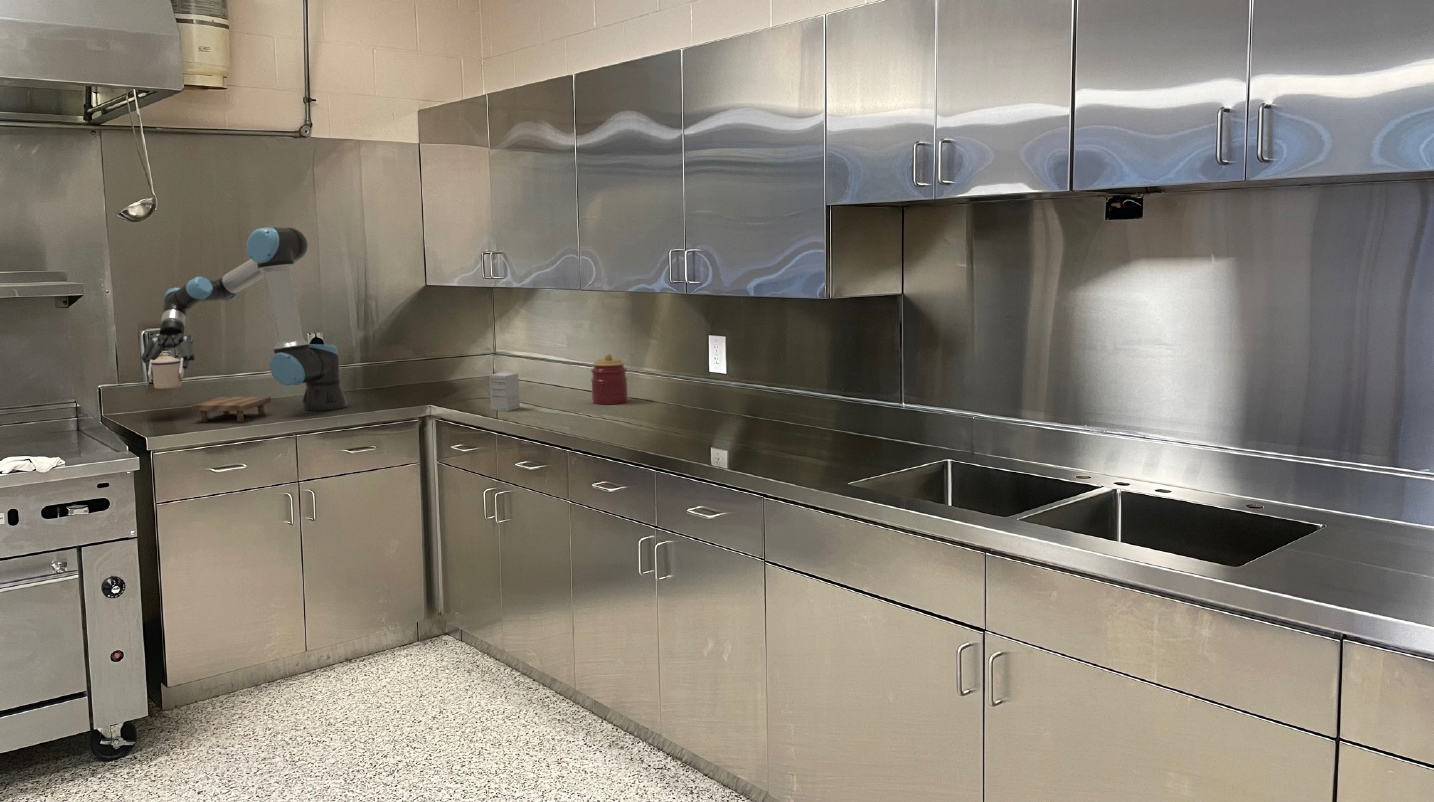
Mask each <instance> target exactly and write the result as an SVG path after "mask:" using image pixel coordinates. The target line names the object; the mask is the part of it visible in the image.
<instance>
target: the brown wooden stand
mask: <svg viewBox="0 0 1434 802" xmlns="http://www.w3.org/2000/svg"><path fill="white" fill-rule="evenodd" d="M271 398H272V397H271V396H220V397H218V398H217V397H216V398H213V399H210V400H206V401H203V402H199V403H195V404H191V411H192V412H195V411H196V412H197V411H199V412H200V421H201V423H206V422H209V420H208V419H209V418H208V412H211V411H212V412H213V411H215V412H216V411H219V412H223V413H222V415H223V416H230V415H231V414H230V412H233V411H234V412H236V420H237V423H244V422H245V418H244V411H247V410H249V409H253V408H257V413H258V414H257V415H258V416H265V405H266V404H269V403H272V399H271Z"/></svg>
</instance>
